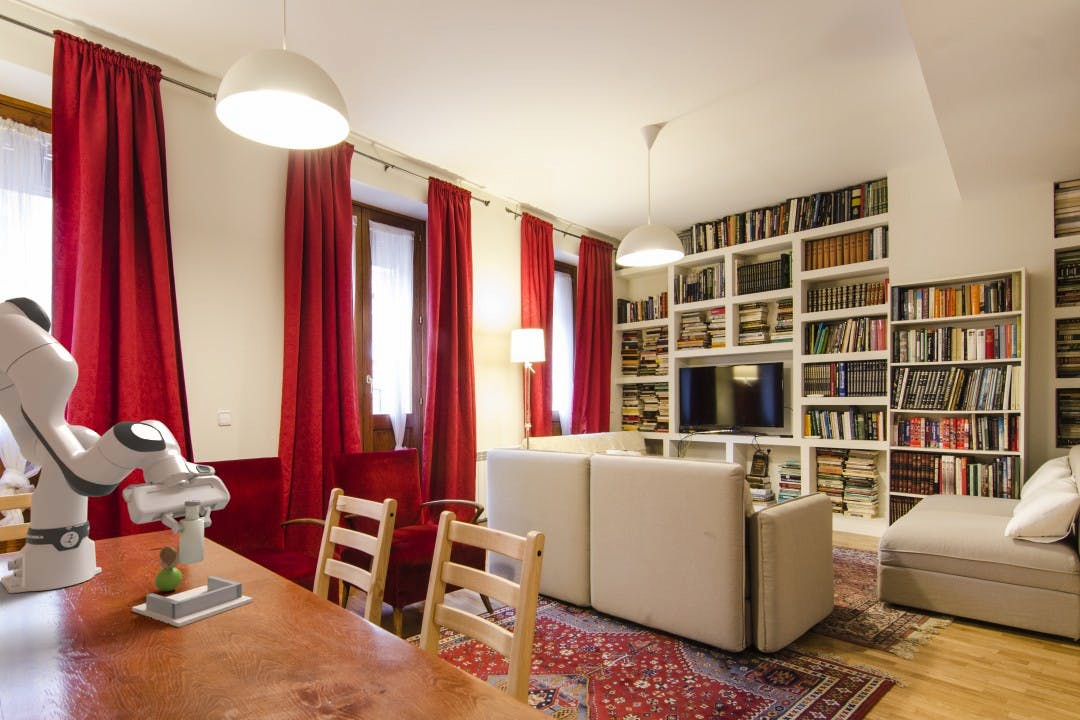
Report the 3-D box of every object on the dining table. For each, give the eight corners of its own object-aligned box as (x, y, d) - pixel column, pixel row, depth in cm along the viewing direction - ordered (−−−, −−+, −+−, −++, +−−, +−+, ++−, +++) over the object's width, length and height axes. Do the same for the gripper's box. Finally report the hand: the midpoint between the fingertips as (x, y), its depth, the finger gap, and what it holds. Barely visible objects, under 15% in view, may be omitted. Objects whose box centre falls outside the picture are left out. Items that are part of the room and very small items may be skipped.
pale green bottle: (174, 562, 128) (176, 502, 129) (196, 557, 132) (197, 498, 133) (186, 565, 126) (187, 503, 126) (207, 559, 130) (208, 500, 130)
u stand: (132, 610, 127) (132, 593, 127) (205, 588, 141) (206, 572, 141) (178, 627, 118) (179, 607, 118) (252, 601, 132) (252, 584, 132)
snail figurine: (172, 595, 136) (173, 543, 136) (149, 594, 137) (150, 542, 138) (190, 587, 141) (191, 537, 142) (168, 586, 142) (169, 536, 143)
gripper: (125, 477, 125) (147, 529, 119) (219, 465, 142) (243, 510, 137) (114, 496, 127) (136, 548, 121) (208, 483, 144) (231, 528, 139)
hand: (193, 528), depth 129 cm, fingers closed on pale green bottle, 5 cm apart
